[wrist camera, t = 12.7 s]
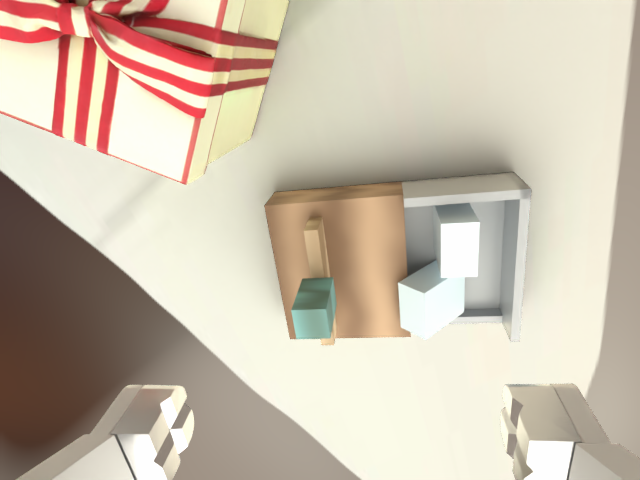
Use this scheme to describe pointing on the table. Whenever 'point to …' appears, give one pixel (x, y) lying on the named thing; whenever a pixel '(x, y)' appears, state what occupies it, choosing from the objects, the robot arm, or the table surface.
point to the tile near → (456, 240)
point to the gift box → (141, 75)
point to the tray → (494, 241)
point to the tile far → (429, 301)
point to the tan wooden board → (346, 252)
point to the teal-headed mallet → (316, 291)
